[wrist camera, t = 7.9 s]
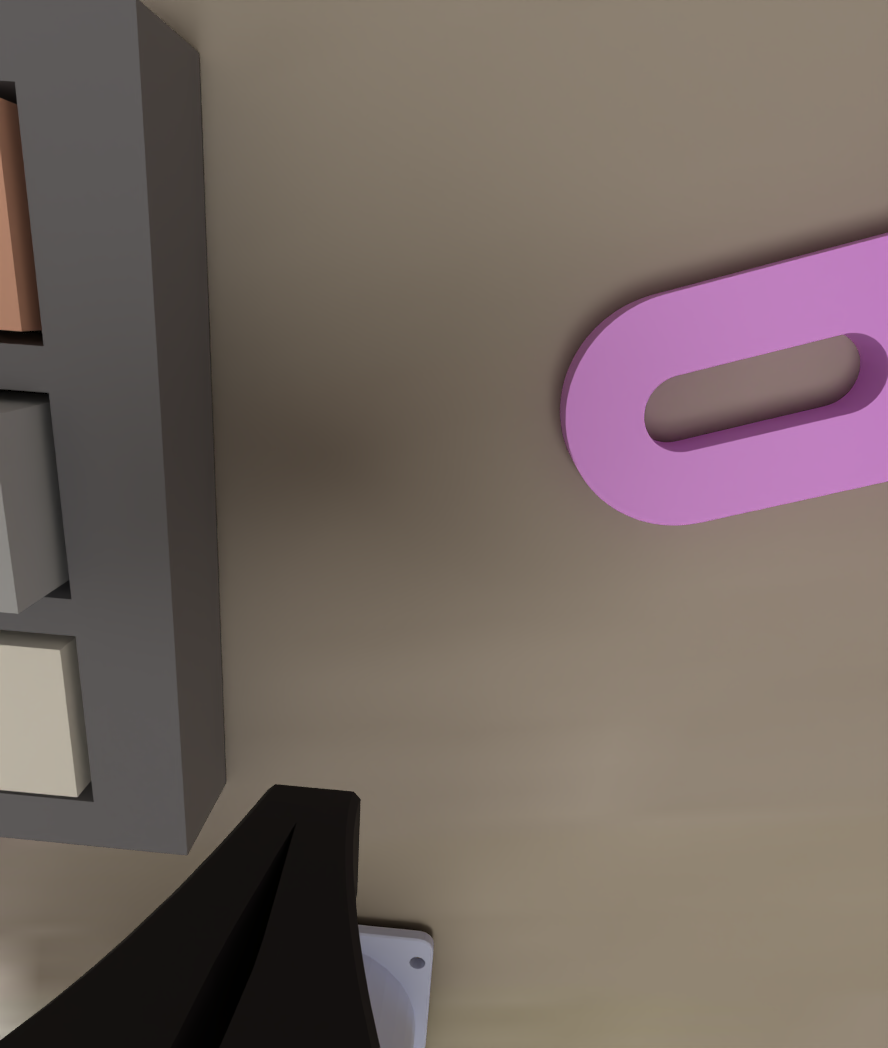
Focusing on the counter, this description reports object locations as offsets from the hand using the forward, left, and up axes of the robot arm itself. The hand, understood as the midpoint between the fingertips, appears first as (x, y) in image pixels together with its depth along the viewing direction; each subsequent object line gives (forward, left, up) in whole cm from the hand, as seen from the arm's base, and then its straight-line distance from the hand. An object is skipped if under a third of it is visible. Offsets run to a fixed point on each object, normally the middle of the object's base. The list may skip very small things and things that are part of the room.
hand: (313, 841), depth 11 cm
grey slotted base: (+3, +10, -9) cm, 14 cm away
